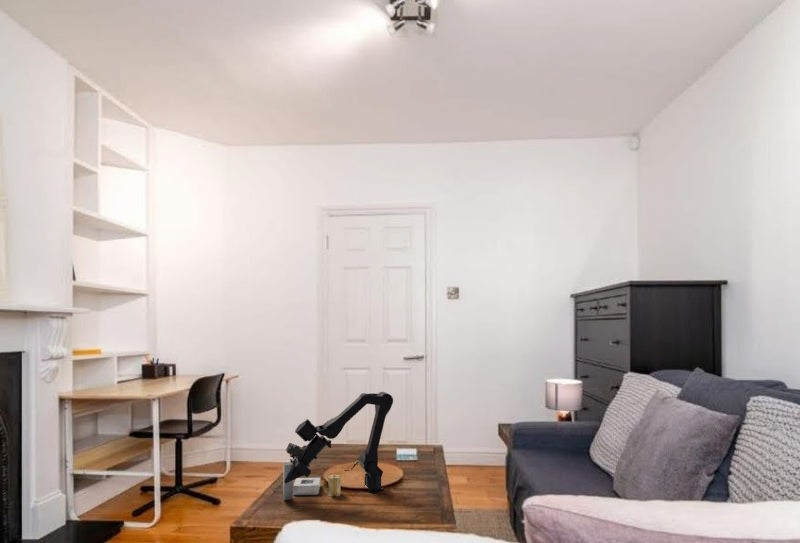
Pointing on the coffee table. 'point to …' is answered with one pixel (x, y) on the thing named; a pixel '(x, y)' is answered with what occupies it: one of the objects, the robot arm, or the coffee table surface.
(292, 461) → the robot arm
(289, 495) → the square bit
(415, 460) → the coffee table surface
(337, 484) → the cross bit
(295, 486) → the bore block
